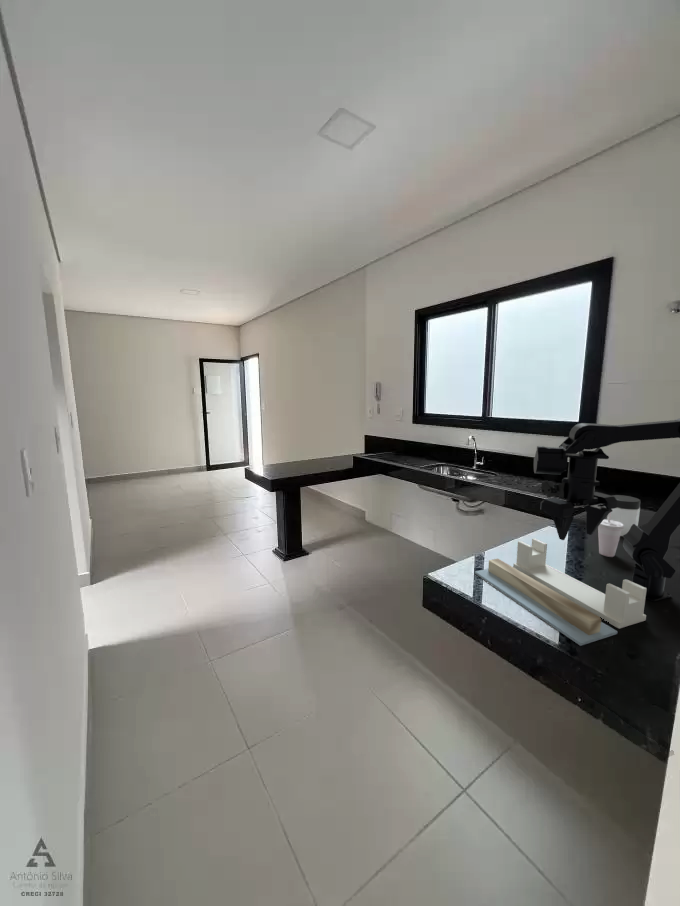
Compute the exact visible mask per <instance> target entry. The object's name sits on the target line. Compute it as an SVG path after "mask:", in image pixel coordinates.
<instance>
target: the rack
mask: <svg viewBox="0 0 680 906" xmlns="http://www.w3.org/2000/svg"><path fill="white" fill-rule="evenodd" d="M516 549H517V550H516V562H514V563H513V566H512V567H514V568H515V569H517V570H519V571H521V572H522V573H524V574H526V575H527V576H529V577H531V578H533V579H534V580H536V581H538V582H540V583H541V584H543V585H545V586H547V587H548V588H550V589H552V590H553V591H555V592H557V593H559V594H560V595H562V596H564V597H566V598H567V599H569V600H571V601H573V602H574V603H576V604H578V605H580V606H581V607H583V608H585V609H586V610H588V611H590V612H592V613H593V614H595V615H597V616H599V617H601V618H602V619H601V620H603V619H604V620H603V621H605V622H606V621H607V623H608V622H609V624H610V625H612V626H614V627H615V628H617V629H623V628H625V627H628V626H632V625H635V624H638V623H642V622H644V621H646V620H647V615H646V614H645V613H644V612H645V611H644V610H645V605H646V590H647V588H645V587H643V586H640V585H638V584H636V583H634V582H632V580H629V579H623V580H622V586H621V587H619V586H616V585H614V584H612V583H607V584H606V586H605V593H604V592H602V591H601V590H598V589H596V588H594V587H592V586H589V584H586V583H584V582H582V581H580V580H578V579H576V578H574V577H573V576H571V575H568V574H567V573H565V572H562V571H560V570H559V569H556V568H555V567H552V566H550V565H549V564H547V563H546V562H547V553H548V552H547V550H548V543H547V542H544V541H542V540H539V539H538V538H531V545H530V544H528V543H526V542H524V541H522V540H518V541H517V547H516Z"/></svg>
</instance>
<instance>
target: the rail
mask: <svg viewBox="0 0 680 906" xmlns="http://www.w3.org/2000/svg"><path fill="white" fill-rule="evenodd" d="M487 569H488V571H489V572H491V573H493V574H494V575H496V576H497V577H499V578H500V579H502V580H503V581H505V582H507V583H508V584H510V585H511V586H513V587H514V588H516V589H517V590H519V591H521V592H522V593H524V594H525V595H527V596H528V597H530V598H532V599H533V600H535V601H536V602H538V603H539V604H541V605H542V606H544V607H546V608H547V609H549V610H550V611H552V612H553V613H555V614H556V615H558V616H560V617H561V618H563V619H564V620H566V621H567V622H569V623H571V624H572V625H574V626H575V627H577V628H578V629H580V630H581V631H583V632H585V633H586V634H588V635H592V634H595V633H598V632H600V627H601V622H602V619H601V618H600V617H599V616H597V615H595V614H593V613H592V612H590V611H588V610H586V609H585V608H583V607H581V606H580V605H578V604H576V603H574V602H573V601H571V600H569V599H567V598H566V597H564V596H562V595H560V594H559V593H557V592H555V591H553V590H552V589H550V588H548V587H547V586H545V585H543V584H541V583H540V582H538V581H536V580H534V579H533V578H531V577H529V576H527V575H526V574H524V573H522V572H521V571H519V570H517V569H515V568H514V567H513V566H512V565H510V564H508V563H507V562H505V561H503V560H501V559H500V558H494V559H489V560H488V568H487Z"/></svg>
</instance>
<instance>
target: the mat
mask: <svg viewBox="0 0 680 906" xmlns="http://www.w3.org/2000/svg"><path fill="white" fill-rule="evenodd" d="M474 574H475V575H476V576H478V577H479V578H481V579H482V580H483V581H485V582H486V581H487V584H489V583H490V585H491V586H492V585H493V586H492V587H494V588H495V587H496V588H495V589H496V590H499V592H501V593H503V594H504V595H506V596H507V597H508V598H510V599H512V600H513V601H515V602H516V603H517V604H519V605H520V606H521V607H523V608H524V609H526V610H527V611H529V612H530V613H532V614H533V615H535V616H536V617H538V619H539V618H540V620H542V621H543V622H545V623H547V624H548V625H549V626H551V627H552V628H554V629H555V630H556V631H558V632H559V633H561V634H563V635H564V636H565V637H567V638H568V639H570V640H572V641H573V643H574V642H575V644H577V645H579V646H580V647H581V646H585V645H587V644H591V643H593V642H596V641H599V640H603V639H606V638H609V637H612V636H615V635H618V630H616V629H614V628H613V627H611V626H610V625H608V624H606V623H604V622H602V621H601V627H600V632H598V633H595V634H592V635H588V634H586V633H585V632H583V631H581V630H580V629H578V628H577V627H575V626H574V625H572V624H571V623H569V622H567V621H566V620H564V619H563V618H561V617H560V616H558V615H556V614H555V613H553V612H552V611H550V610H549V609H547V608H546V607H544V606H542V605H541V604H539V603H538V602H536V601H535V600H533V599H532V598H530V597H528V596H527V595H525V594H524V593H522V592H521V591H519V590H517V589H516V588H514V587H513V586H511V585H510V584H508V583H507V582H505V581H503V580H502V579H500V578H499V577H497V576H496V575H494V574H493V573H491V572H489V571H488V568H485V569H480V570H476V571H474Z"/></svg>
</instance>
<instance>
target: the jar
mask: <svg viewBox="0 0 680 906" xmlns="http://www.w3.org/2000/svg"><path fill="white" fill-rule="evenodd" d="M612 496H614V497H615V498H616V500H617V508H614V509H612V512H611V518H610V520H613V521H617V522H620V523H622V524H623V525H624V529H622V531H621V535H620V537H623V535H625V534H626V533H628V531H629V530H630V528H631V526H632V525H633V524H635V525H637V526H638V527H639V520H640V513H641V512H640V511H641V499H639V498H637V497H633V496H631V495H621V494H615V495H614V494H613V495H612ZM608 515H609V514H608ZM608 515H607V516H606V519H607V520H608Z"/></svg>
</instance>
